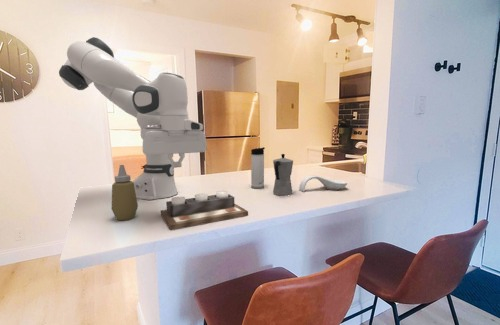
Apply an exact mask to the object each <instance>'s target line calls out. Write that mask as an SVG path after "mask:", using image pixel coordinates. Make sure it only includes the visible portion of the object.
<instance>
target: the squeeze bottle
mask: <svg viewBox="0 0 500 325" xmlns="http://www.w3.org/2000/svg"><path fill="white" fill-rule="evenodd" d="M138 208H139V205H138V198H136V192H135V187H134V183H133V181H132V180H131V175H130V174H127V171H126V168H125V165H124V164H120V165H119V168H118V174H117V175H115V176H114V183H112V186H111V211H112V214H113V215H114V218H115V219H116V220H117V221H126V220H131V219H133V218H135V217H136V213H137V212H138V211H137V210H138Z"/></svg>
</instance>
